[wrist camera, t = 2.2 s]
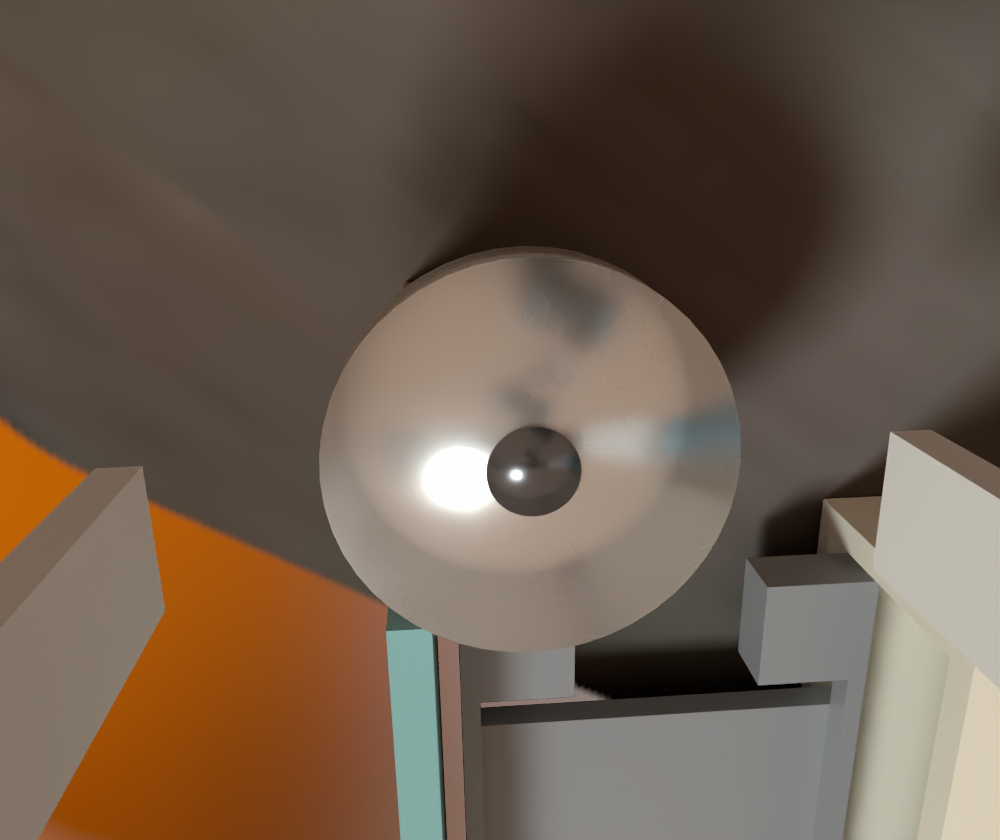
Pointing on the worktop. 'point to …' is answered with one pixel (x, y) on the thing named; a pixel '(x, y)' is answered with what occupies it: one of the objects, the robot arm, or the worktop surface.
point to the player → (915, 714)
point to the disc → (528, 450)
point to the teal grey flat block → (651, 729)
